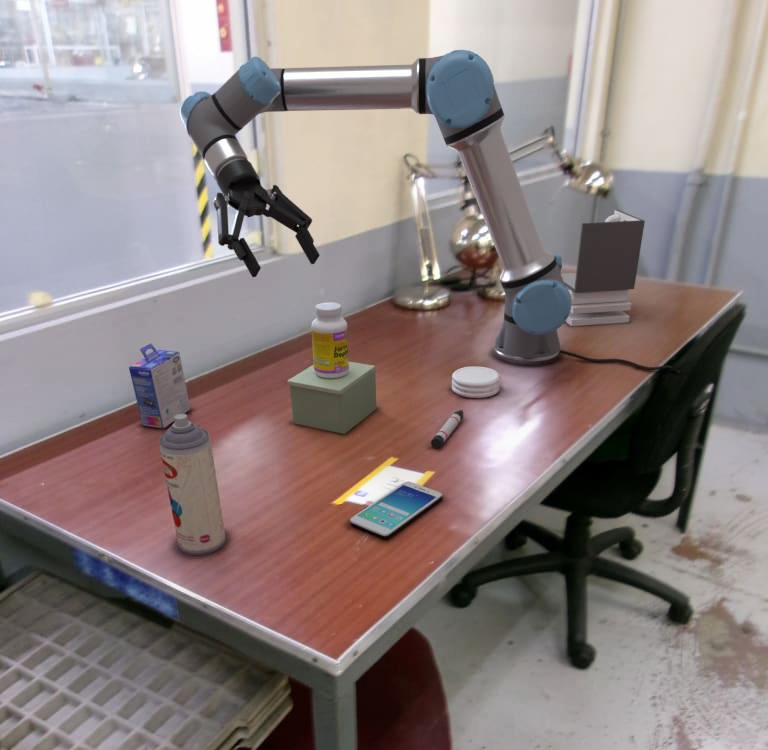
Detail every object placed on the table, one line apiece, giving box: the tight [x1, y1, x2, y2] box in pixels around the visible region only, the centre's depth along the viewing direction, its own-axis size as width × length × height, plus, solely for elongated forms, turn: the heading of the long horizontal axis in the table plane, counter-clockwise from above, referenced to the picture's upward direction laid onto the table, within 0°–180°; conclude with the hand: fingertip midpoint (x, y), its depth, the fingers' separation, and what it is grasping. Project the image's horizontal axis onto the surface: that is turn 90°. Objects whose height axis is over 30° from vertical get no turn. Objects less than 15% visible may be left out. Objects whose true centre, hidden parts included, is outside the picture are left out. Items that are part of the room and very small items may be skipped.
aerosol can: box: [159, 413, 227, 556], centre depth 104 cm, size 7×7×20 cm
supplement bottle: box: [310, 301, 350, 378], centre depth 138 cm, size 7×7×13 cm
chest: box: [289, 369, 377, 435], centre depth 144 cm, size 13×11×8 cm
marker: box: [430, 409, 464, 449], centre depth 139 cm, size 15×2×2 cm, turn 157°
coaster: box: [451, 365, 501, 399], centre depth 156 cm, size 10×10×4 cm
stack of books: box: [561, 209, 645, 327], centre depth 193 cm, size 16×19×25 cm
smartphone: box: [349, 480, 443, 540], centre depth 115 cm, size 8×1×15 cm
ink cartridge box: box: [128, 343, 191, 429], centre depth 144 cm, size 10×6×14 cm, turn 161°
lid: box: [286, 361, 376, 395], centre depth 142 cm, size 14×11×1 cm
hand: (287, 266), depth 140 cm, fingers open, 13 cm apart
